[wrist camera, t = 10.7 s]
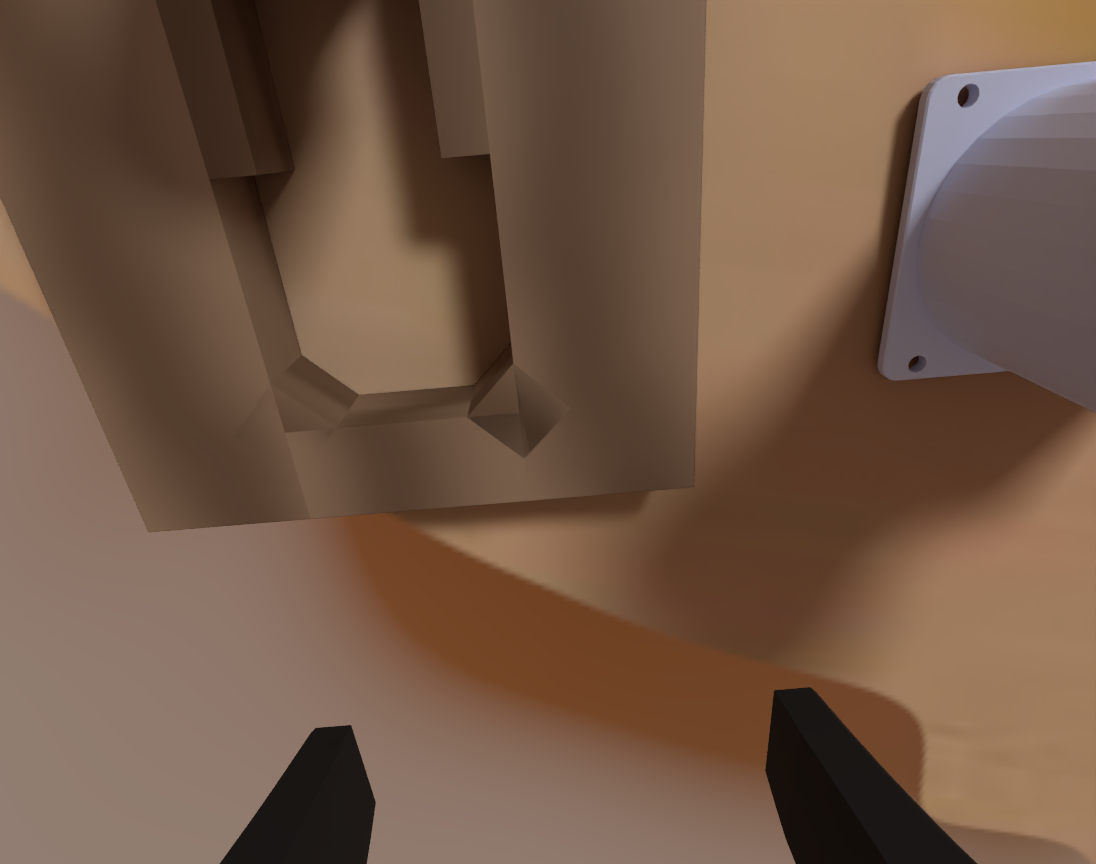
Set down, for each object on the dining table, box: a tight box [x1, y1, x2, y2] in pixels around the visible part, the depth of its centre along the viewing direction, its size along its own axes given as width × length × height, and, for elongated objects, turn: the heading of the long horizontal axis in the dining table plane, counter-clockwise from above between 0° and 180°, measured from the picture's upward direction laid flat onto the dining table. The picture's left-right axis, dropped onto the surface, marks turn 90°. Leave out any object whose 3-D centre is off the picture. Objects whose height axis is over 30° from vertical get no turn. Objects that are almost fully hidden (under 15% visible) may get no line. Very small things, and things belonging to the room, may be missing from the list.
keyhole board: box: [0, 0, 706, 532], centre depth 14 cm, size 16×22×2 cm
